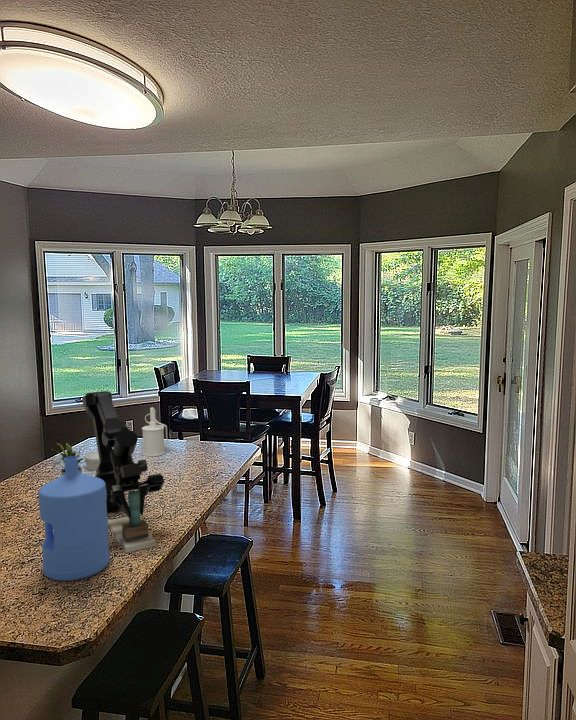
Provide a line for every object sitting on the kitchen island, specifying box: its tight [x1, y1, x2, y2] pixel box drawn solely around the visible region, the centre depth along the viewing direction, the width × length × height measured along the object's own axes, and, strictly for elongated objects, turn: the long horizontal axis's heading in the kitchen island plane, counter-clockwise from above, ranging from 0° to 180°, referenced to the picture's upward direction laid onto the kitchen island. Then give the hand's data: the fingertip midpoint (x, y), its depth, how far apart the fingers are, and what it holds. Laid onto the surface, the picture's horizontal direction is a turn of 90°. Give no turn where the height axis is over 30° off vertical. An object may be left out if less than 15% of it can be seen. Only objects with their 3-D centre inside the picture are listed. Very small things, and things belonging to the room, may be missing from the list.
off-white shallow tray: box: [107, 515, 157, 554], centre depth 157 cm, size 20×8×2 cm, turn 31°
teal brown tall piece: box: [122, 490, 149, 542], centre depth 152 cm, size 4×6×12 cm, turn 121°
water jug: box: [38, 455, 111, 582], centre depth 138 cm, size 16×16×28 cm
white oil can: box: [141, 407, 168, 458], centre depth 237 cm, size 10×9×20 cm
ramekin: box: [83, 450, 100, 472], centre depth 219 cm, size 11×11×5 cm
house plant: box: [52, 442, 91, 476], centre depth 197 cm, size 14×14×16 cm
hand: (136, 515), depth 151 cm, fingers closed on teal brown tall piece, 3 cm apart
